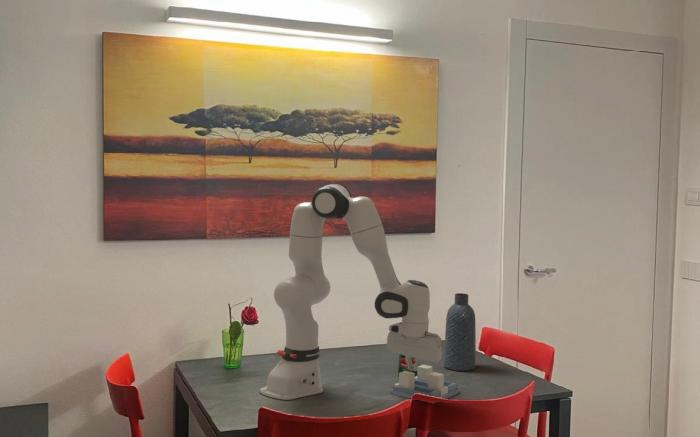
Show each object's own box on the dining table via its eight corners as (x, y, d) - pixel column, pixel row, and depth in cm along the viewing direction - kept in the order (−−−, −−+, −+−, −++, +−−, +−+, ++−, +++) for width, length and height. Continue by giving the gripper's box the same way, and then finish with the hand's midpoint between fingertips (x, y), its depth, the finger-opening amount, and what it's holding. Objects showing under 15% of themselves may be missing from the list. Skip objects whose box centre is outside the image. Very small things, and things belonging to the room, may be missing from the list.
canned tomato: (401, 380, 279) (402, 350, 278) (394, 374, 287) (395, 345, 286) (422, 379, 281) (423, 349, 280) (415, 373, 289) (415, 344, 288)
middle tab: (437, 394, 259) (438, 376, 259) (427, 391, 262) (428, 374, 261) (443, 391, 262) (444, 374, 261) (433, 389, 264) (433, 372, 264)
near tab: (408, 392, 260) (408, 375, 260) (398, 390, 262) (399, 373, 262) (414, 390, 263) (414, 373, 262) (404, 388, 265) (405, 370, 265)
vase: (474, 363, 304) (476, 292, 301) (476, 372, 292) (478, 297, 289) (443, 362, 305) (445, 291, 303) (443, 370, 293) (445, 296, 290)
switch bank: (433, 404, 253) (433, 394, 252) (390, 393, 263) (390, 384, 263) (460, 392, 266) (460, 383, 266) (418, 382, 276) (418, 374, 276)
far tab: (426, 385, 269) (427, 368, 268) (417, 383, 271) (417, 366, 271) (432, 383, 271) (432, 366, 271) (422, 381, 274) (423, 364, 273)
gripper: (446, 333, 255) (444, 374, 256) (395, 322, 268) (393, 361, 269) (436, 336, 250) (434, 378, 252) (384, 325, 263) (382, 365, 264)
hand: (412, 369), depth 260 cm, fingers closed
